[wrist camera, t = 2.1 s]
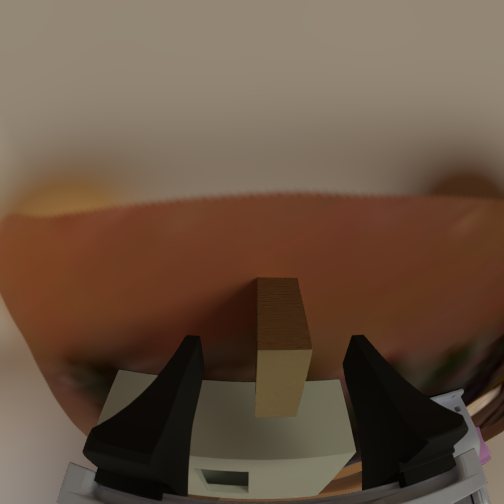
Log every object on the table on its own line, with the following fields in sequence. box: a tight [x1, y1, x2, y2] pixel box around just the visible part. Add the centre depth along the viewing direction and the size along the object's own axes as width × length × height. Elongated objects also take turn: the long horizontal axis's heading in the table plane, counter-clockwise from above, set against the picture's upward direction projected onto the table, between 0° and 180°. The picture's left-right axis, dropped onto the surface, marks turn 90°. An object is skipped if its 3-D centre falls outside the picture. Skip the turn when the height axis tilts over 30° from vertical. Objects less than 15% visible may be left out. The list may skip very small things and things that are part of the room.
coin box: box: [96, 370, 356, 499], centre depth 18 cm, size 16×12×6 cm
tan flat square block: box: [255, 277, 313, 417], centre depth 13 cm, size 2×5×5 cm, turn 179°
